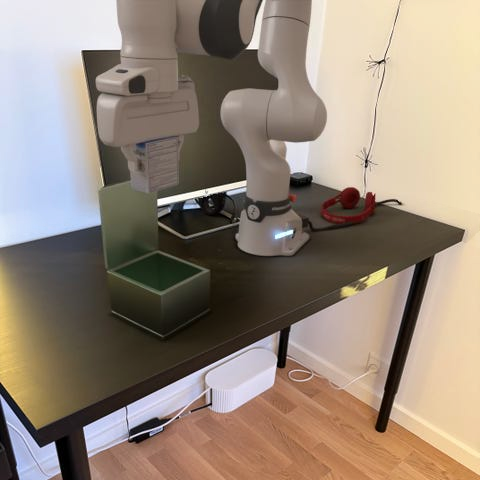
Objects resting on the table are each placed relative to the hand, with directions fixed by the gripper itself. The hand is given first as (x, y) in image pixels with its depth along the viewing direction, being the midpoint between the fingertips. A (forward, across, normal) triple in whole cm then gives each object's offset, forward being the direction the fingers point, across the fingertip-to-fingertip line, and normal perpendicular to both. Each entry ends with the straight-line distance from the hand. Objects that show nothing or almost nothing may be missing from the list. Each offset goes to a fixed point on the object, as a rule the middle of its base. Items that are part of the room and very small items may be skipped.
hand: (154, 165), depth 85 cm
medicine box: (+4, 0, 0) cm, 4 cm away
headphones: (+30, -84, +1) cm, 89 cm away
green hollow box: (+30, 0, 0) cm, 30 cm away
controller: (+30, -54, -33) cm, 70 cm away
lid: (+12, 0, -7) cm, 14 cm away
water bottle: (+30, -69, -20) cm, 78 cm away
